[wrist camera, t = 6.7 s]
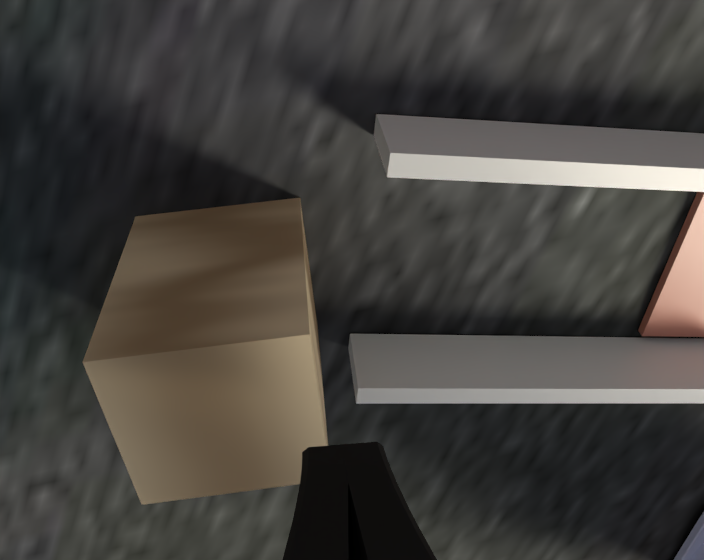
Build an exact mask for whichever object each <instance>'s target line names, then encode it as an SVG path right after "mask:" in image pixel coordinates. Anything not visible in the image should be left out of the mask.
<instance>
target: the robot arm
mask: <svg viewBox="0 0 704 560" xmlns="http://www.w3.org/2000/svg"><path fill="white" fill-rule="evenodd" d="M283 560H437V559H436V557H435V556H434V554H433V552H432V550H431V548H430V547H429V545H428V543H427V541H426V539H425V538H424V536H423V534H422V532H421V530H420V529H419V527H418V525H417V523H416V521H415V519H414V517H413V515H412V513H411V511H410V510H409V507H408V505H407V503H406V501H405V499H404V497H403V495H402V493H401V491H400V489H399V486H398V484H397V482H396V480H395V477H394V475H393V473H392V470H391V468H390V465H389V462H388V460H387V457H386V454H385V451H384V448H383V446H382V445H381V444H379V443H378V442H369V443H356V444H343V445H330V446H317V447H308V448H307V449H306V450H304V451H303V452H302V470H301V480H300V487H299V493H298V498H297V503H296V508H295V513H294V518H293V522H292V526H291V530H290V534H289V538H288V541H287V545H286V549H285V553H284V557H283ZM674 560H704V511H703V513H702V515H701V516H700V518H699V519H698V521H697V523H696V524H695V526H694V527H693V529H692V531H691V532H690V534H689V535H688V537H687V539H686V540H685V542H684V543H683V545H682V547H681V548H680V550H679V552H678V553H677V555H676V556H675V558H674Z"/></svg>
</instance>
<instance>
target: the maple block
mask: <svg viewBox="0 0 704 560" xmlns="http://www.w3.org/2000/svg"><path fill="white" fill-rule="evenodd" d="M83 365H84V367H85V369H86V372H87V374H88V377H89V379H90V381H91V384H92V386H93V389H94V391H95V393H96V396H97V398H98V401H99V403H100V405H101V408H102V410H103V413H104V415H105V417H106V420H107V422H108V425H109V427H110V429H111V432H112V434H113V437H114V439H115V441H116V444H117V446H118V449H119V451H120V453H121V456H122V458H123V461H124V463H125V465H126V468H127V470H128V473H129V475H130V477H131V480H132V482H133V485H134V487H135V489H136V492H137V494H138V497H139V499H140V501H141V504H142V505H144V504H151V503H159V502H166V501H174V500H182V499H189V498H197V497H205V496H212V495H220V494H227V493H235V492H243V491H250V490H258V489H265V488H273V487H281V486H288V485H296V484H300V480H301V470H302V452H303V451H304V450H306V449H307V448H308V447H317V446H328V438H327V427H326V416H325V404H324V393H323V382H322V371H321V359H320V348H319V337H318V325H317V318H316V311H315V304H314V296H313V289H312V282H311V274H310V267H309V260H308V252H307V245H306V238H305V230H304V223H303V216H302V209H301V201H300V198H292V199H283V200H274V201H266V202H257V203H248V204H239V205H231V206H222V207H213V208H204V209H196V210H187V211H178V212H169V213H161V214H152V215H143V216H135V219H134V222H133V225H132V227H131V230H130V233H129V236H128V238H127V241H126V244H125V247H124V249H123V252H122V255H121V258H120V260H119V263H118V266H117V269H116V271H115V274H114V277H113V280H112V282H111V285H110V288H109V291H108V293H107V296H106V299H105V302H104V304H103V307H102V310H101V313H100V315H99V318H98V321H97V324H96V326H95V329H94V332H93V335H92V337H91V340H90V343H89V346H88V349H87V351H86V354H85V357H84V360H83Z"/></svg>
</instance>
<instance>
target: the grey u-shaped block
mask: <svg viewBox="0 0 704 560" xmlns="http://www.w3.org/2000/svg"><path fill="white" fill-rule="evenodd" d="M374 139H375V142H376V145H377V148H378V151H379V154H380V157H381V161H382V164H383V167H384V170H385V173H386V176H387V177H392V178H414V179H435V180H457V181H479V182H500V183H522V184H543V185H565V186H586V187H608V188H629V189H651V190H672V191H694V192H697V194H696V196H695V199H694V201H693V203H692V206H691V208H690V210H689V213H688V215H687V217H686V220H685V222H684V224H683V226H682V229H681V231H680V233H679V236H678V238H677V240H676V243H675V245H674V247H673V250H672V252H671V254H670V257H669V259H668V261H667V264H666V266H665V268H664V271H663V273H662V275H661V278H660V280H659V282H658V285H657V287H656V289H655V292H654V294H653V296H652V299H651V301H650V303H649V306H648V308H647V310H646V313H645V315H644V317H643V320H642V322H641V324H640V327H639V329H638V331H639V333H640V334H641V335H642V336H667V337H704V133H688V132H671V131H655V130H638V129H621V128H604V127H587V126H571V125H554V124H537V123H520V122H503V121H487V120H470V119H453V118H436V117H419V116H402V115H386V114H376V119H375V128H374ZM348 350H349V357H350V364H351V371H352V378H353V385H354V392H355V399H356V404H432V403H704V338H636V337H564V336H492V335H419V334H350V338H349V346H348Z"/></svg>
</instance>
